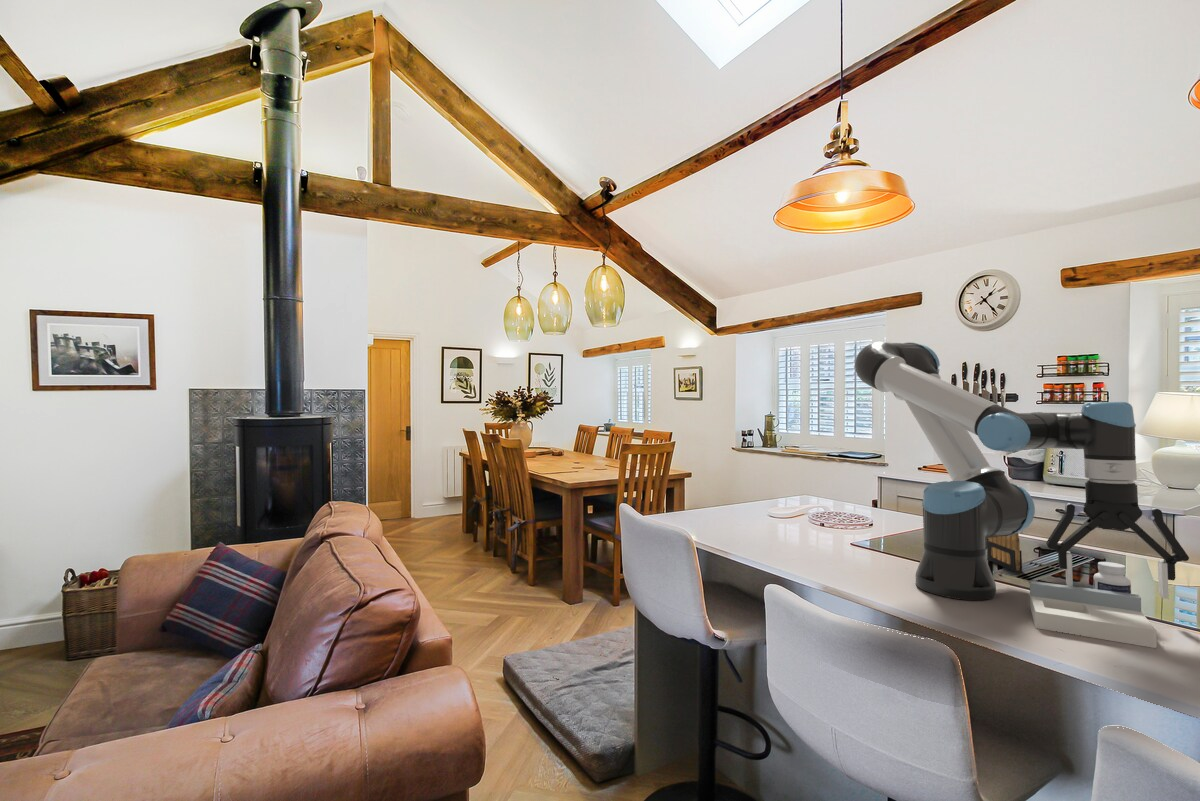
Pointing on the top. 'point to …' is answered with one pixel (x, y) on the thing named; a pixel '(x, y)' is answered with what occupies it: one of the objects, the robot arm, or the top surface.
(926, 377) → the robot arm
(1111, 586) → the pill bottle
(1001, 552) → the ammunition clip
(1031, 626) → the top surface
